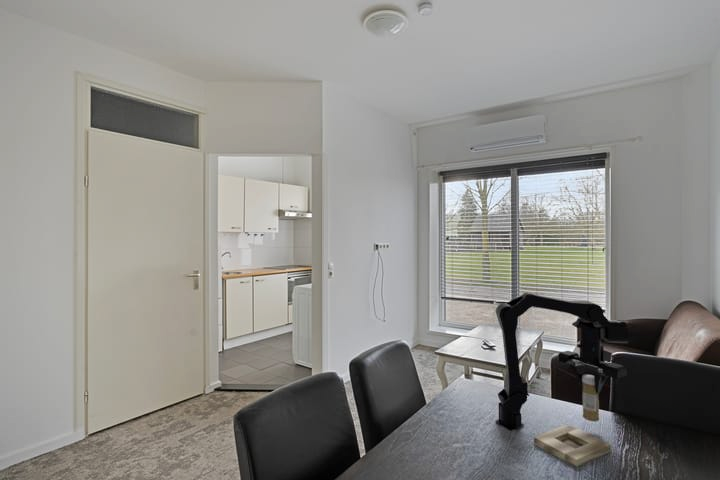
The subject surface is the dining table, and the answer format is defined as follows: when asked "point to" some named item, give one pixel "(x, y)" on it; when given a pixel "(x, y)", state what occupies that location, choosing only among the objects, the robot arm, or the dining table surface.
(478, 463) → the dining table surface
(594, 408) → the sprinkles bottle
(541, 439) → the socket block
